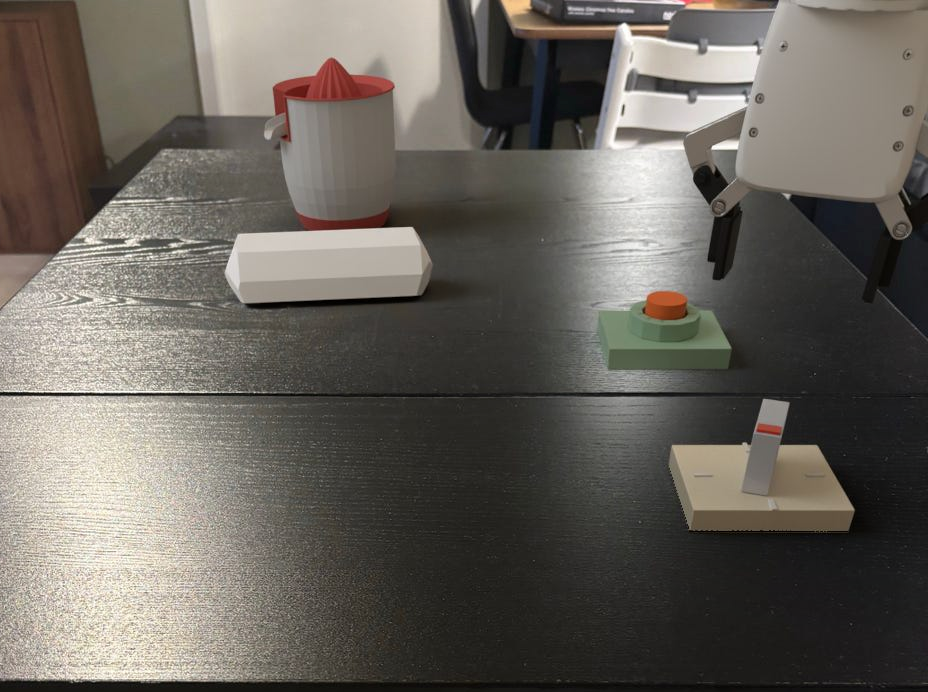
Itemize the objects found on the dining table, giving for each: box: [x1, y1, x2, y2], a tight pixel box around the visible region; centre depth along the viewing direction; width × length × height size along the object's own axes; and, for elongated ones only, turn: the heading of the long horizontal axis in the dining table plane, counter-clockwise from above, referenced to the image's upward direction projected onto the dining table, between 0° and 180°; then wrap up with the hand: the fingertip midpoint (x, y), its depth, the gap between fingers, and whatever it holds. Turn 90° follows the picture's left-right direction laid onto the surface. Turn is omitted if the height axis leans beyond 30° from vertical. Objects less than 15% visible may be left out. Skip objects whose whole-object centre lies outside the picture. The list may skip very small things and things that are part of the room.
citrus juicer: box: [263, 57, 397, 231], centre depth 123 cm, size 16×17×20 cm
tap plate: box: [668, 442, 856, 533], centre depth 74 cm, size 12×10×2 cm
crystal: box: [224, 226, 434, 304], centre depth 108 cm, size 7×7×24 cm
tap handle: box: [741, 398, 791, 496], centre depth 72 cm, size 6×2×5 cm, turn 159°
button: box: [645, 290, 688, 320], centre depth 94 cm, size 4×4×2 cm
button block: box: [596, 299, 733, 371], centre depth 96 cm, size 12×10×4 cm
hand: (793, 284), depth 63 cm, fingers open, 9 cm apart
